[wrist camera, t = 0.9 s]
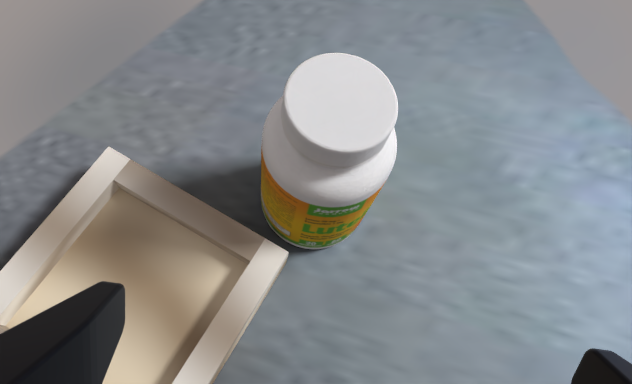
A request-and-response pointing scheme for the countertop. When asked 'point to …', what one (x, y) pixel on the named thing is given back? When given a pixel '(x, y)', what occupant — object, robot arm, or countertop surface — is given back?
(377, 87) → the supplement bottle
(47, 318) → the robot arm
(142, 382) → the recess plate
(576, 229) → the countertop surface
